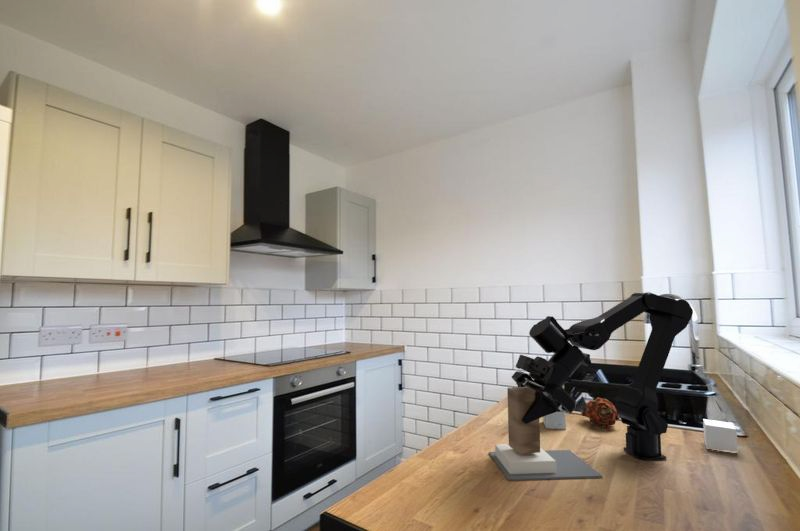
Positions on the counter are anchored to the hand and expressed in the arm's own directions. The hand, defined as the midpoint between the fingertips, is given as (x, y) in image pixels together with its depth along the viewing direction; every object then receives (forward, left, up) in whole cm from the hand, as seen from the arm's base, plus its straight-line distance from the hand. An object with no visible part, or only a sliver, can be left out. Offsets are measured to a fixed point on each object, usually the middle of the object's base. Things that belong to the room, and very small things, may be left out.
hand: (517, 418), depth 89 cm
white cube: (-54, -7, -11) cm, 56 cm away
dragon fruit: (-34, -26, -10) cm, 44 cm away
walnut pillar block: (-1, 0, -7) cm, 7 cm away
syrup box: (-20, -26, -10) cm, 35 cm away
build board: (-5, 0, -10) cm, 12 cm away
